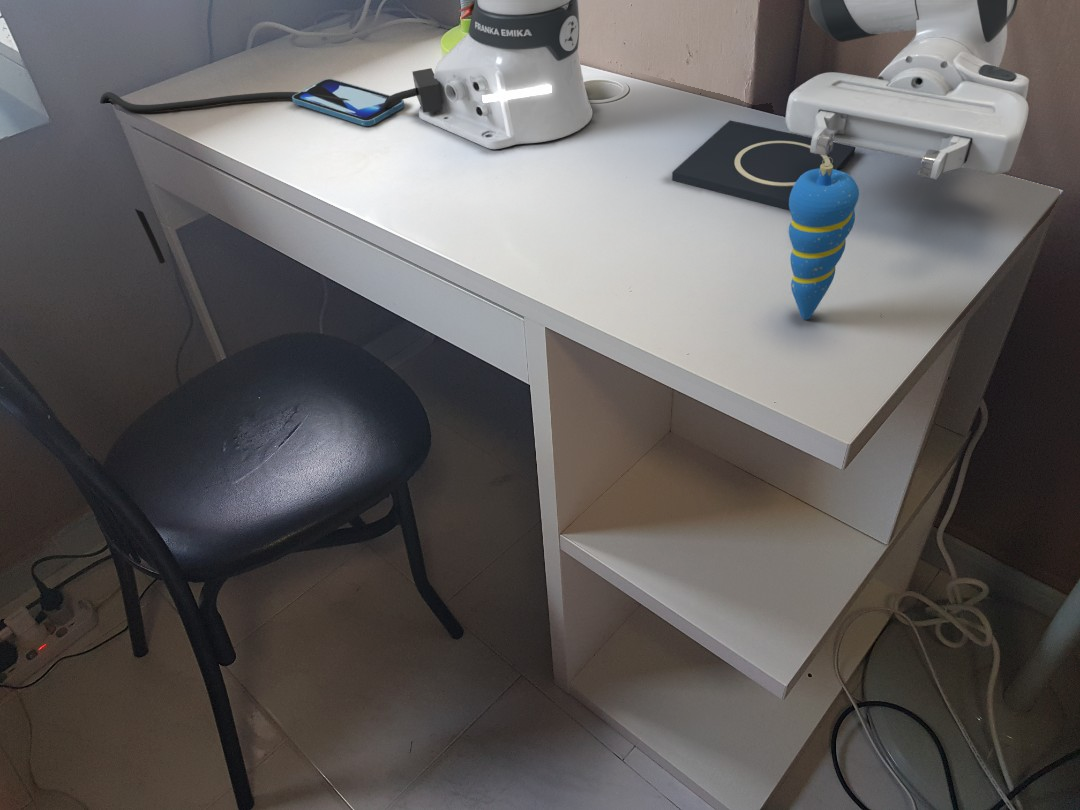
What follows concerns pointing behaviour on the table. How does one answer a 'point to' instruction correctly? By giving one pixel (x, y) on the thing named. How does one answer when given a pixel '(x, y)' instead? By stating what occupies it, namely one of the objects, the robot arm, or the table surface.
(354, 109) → the smartphone
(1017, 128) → the robot arm
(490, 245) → the table surface
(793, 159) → the mat
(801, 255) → the ornament
